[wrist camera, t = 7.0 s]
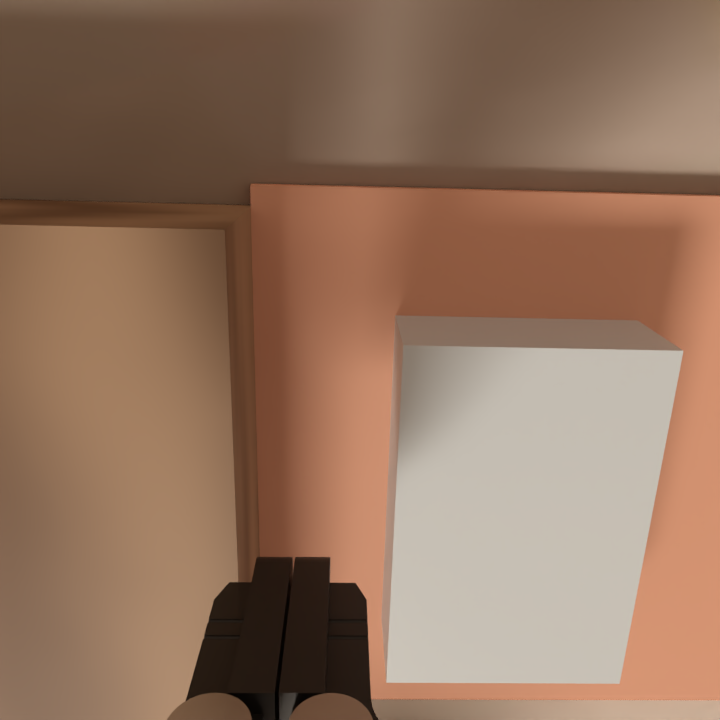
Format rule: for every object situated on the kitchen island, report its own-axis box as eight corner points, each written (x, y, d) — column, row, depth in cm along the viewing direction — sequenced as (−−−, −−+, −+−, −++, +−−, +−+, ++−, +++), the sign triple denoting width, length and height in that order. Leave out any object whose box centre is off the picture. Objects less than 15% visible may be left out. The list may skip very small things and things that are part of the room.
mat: (878, 199, 16) (891, 200, 16) (746, 689, 21) (753, 700, 21) (252, 183, 16) (250, 184, 16) (264, 688, 21) (263, 699, 20)
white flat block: (403, 345, 14) (395, 315, 17) (386, 682, 17) (381, 617, 20) (683, 350, 14) (637, 320, 17) (619, 683, 17) (587, 619, 20)
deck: (252, 205, 16) (224, 229, 12) (264, 675, 21) (246, 798, 17) (-180, 195, 16) (-346, 217, 12) (-71, 674, 20) (-166, 799, 17)
